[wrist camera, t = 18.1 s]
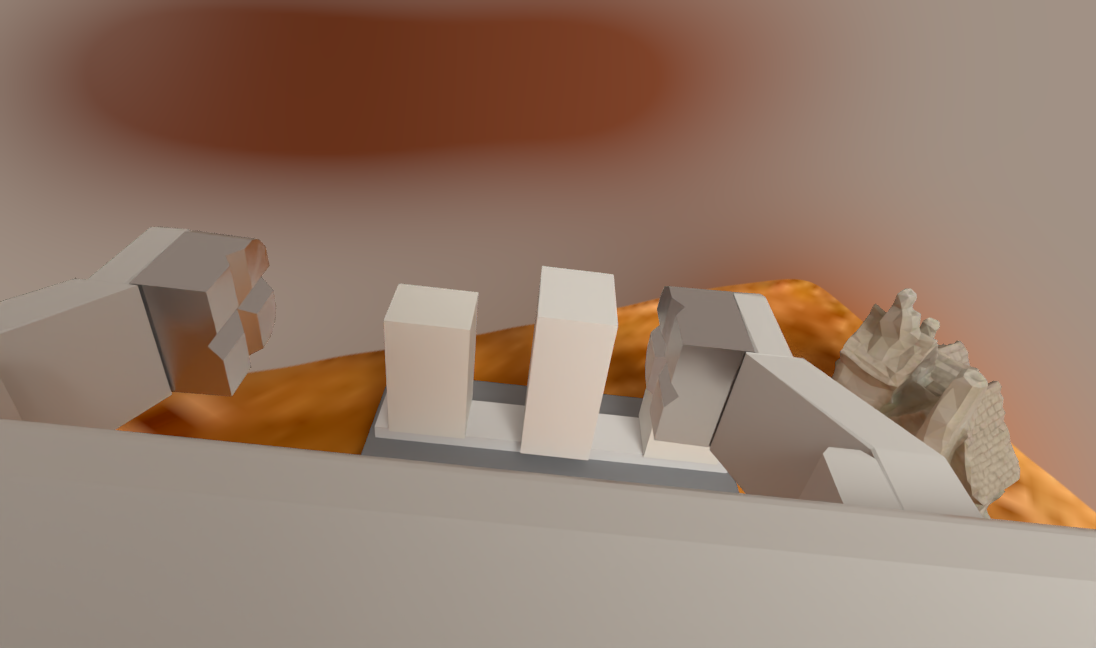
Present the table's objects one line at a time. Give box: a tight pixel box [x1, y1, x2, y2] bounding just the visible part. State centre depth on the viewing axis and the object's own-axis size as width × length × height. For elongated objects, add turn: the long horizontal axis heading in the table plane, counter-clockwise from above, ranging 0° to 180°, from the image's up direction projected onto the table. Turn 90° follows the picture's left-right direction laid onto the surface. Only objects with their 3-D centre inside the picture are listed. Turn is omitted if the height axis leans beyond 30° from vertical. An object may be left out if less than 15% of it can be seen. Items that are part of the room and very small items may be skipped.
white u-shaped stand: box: [361, 284, 739, 493], centre depth 42 cm, size 25×10×12 cm, turn 88°
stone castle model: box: [832, 289, 1020, 519], centre depth 45 cm, size 16×16×15 cm
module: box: [520, 266, 618, 460], centre depth 40 cm, size 4×6×11 cm
